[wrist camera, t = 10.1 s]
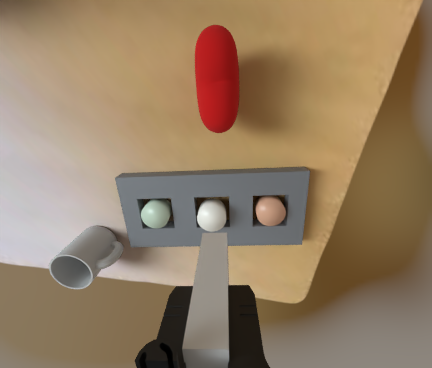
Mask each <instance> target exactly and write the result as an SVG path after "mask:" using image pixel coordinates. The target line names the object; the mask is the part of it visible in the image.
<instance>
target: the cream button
mask: <svg viewBox="0 0 432 368" xmlns="http://www.w3.org/2000/svg"><path fill="white" fill-rule="evenodd" d="M197 221H198V224H199V225H200V227H201V228H203V229H204V230H206V231H210V232H214V231H218V230H220V229H221V228H223V226H224V225H225V223H226V207H225V205H224V204H223V202H221V201H220V200H218V199H214V198H210V199H207V200H205V201H203V202H202V203H201V205H200V208H199V212H198V216H197Z"/></svg>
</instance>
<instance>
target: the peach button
mask: <svg viewBox="0 0 432 368" xmlns="http://www.w3.org/2000/svg"><path fill="white" fill-rule="evenodd" d="M255 211H256V214H257V218H258V220H259V221H260V222H261V223H262V224H263V225H266V226H275V225H278V224H279V223H281V222H282V221H283V220H284V218H285V215H286V210H285V208H284V206H283V204H282V202H281V201H280V199H279V198H278V197H277V196H276V195H262V196H260V197H259V198H258V199H257V200H256V202H255Z"/></svg>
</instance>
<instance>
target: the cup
mask: <svg viewBox="0 0 432 368" xmlns="http://www.w3.org/2000/svg"><path fill="white" fill-rule="evenodd" d="M122 252H123V245H122V244H121V243H120V242H118V241H117V239H116V237H115V235H114V234H113V233H112V232H111V231H110V230H109V229H107V228H105V227H101V226H92V227H89V228H87V229H86V230H84V231H83V232H82V233H81V234H80V235H79V236H78V237H77V238H75V239H74V240H73V241H72V242H71V243H70V244H69V245H68V246H67V247H65V248H64V249H63V250H62V251H61V252H60V253H59V254H58V255H56V256H55V257H54V258H53V259H52V260H51V262H50V264H49V270H50V273H51V275H52V277H53V278H54V279H55V280H56V281H57V282H58V283H60V284H61V285H63V286H65V287H68V288H72V289H82V288H85V287H87V286H89V285H90V284H91V282H92V281H93V280H94V278H95V277H96V276H97V274H98V273H99V272H100V270H101V269H104V268H107V267H109V266H111V265H112V264H113V263H115V262H116V261H117V260H118V259H119V257H120V256H121V255H122Z"/></svg>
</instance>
